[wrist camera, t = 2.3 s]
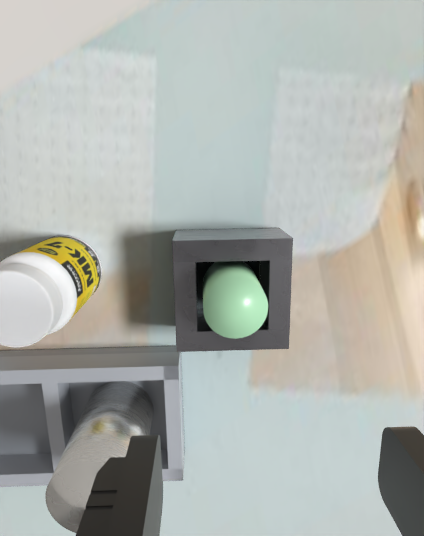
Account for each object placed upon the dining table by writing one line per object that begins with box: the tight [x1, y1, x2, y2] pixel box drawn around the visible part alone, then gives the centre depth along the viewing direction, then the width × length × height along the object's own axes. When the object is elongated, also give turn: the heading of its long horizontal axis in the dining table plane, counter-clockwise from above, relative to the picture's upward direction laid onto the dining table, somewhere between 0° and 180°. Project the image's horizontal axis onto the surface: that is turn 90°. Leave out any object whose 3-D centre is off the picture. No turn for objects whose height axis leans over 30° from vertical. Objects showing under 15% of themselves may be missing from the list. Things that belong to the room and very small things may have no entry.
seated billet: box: [46, 381, 153, 533], centre depth 25 cm, size 5×5×8 cm
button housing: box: [172, 228, 293, 352], centre depth 26 cm, size 7×7×4 cm
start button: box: [203, 261, 268, 339], centre depth 24 cm, size 4×4×4 cm
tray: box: [0, 346, 185, 487], centre depth 28 cm, size 17×9×3 cm, turn 91°
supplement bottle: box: [0, 236, 102, 348], centre depth 23 cm, size 5×5×8 cm
